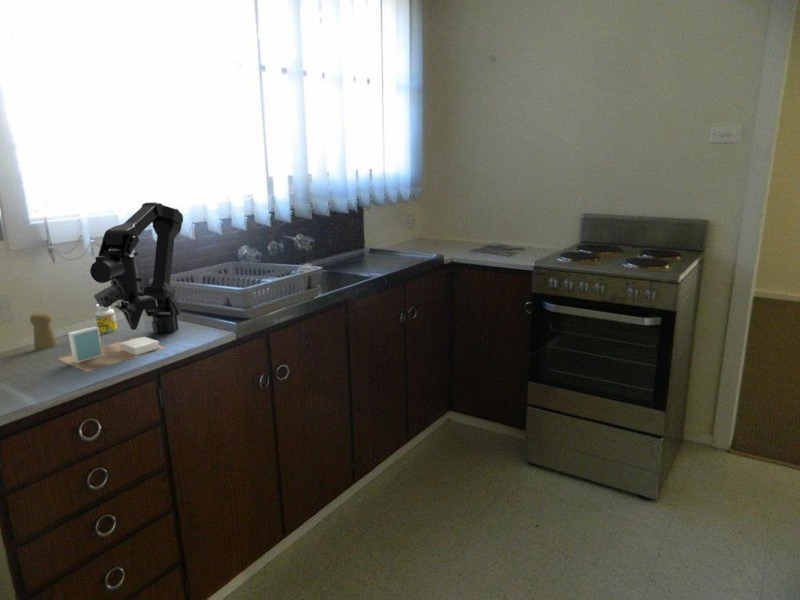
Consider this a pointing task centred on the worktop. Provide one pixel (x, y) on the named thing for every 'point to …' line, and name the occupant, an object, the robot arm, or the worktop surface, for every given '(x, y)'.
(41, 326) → the cork
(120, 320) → the worktop surface
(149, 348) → the tile
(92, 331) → the tile
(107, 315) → the supplement bottle
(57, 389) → the worktop surface
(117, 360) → the board
